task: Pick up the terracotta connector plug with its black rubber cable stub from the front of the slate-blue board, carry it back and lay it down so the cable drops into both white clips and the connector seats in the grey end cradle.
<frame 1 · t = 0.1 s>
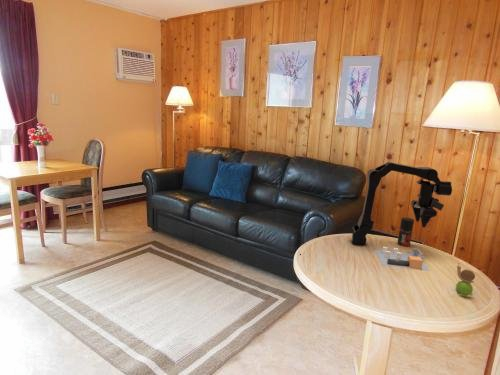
hand: (420, 224, 166), 15 cm above the table, tool pointing down, fingers open, 9 cm apart
end cradle: (409, 258, 159), resting on route board
snail figurine: (461, 294, 131), on the table
deodorant: (403, 246, 176), on the table
clips: (391, 255, 160), resting on route board
plug: (414, 266, 150), point 1 cm above the table, touching route board
route board: (400, 261, 157), on the table
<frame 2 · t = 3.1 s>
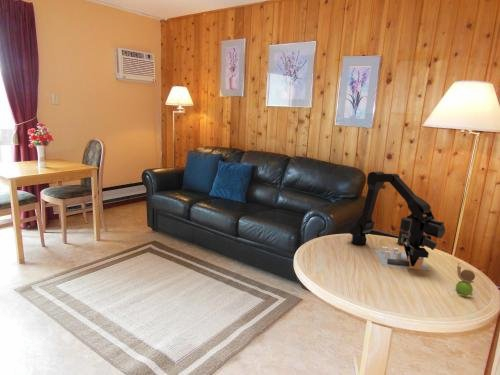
hand: (410, 263, 150), 2 cm above the table, tool pointing down, fingers closed on plug, 4 cm apart
plug: (414, 266, 150), point 1 cm above the table, touching gripper, route board
everything else where it was.
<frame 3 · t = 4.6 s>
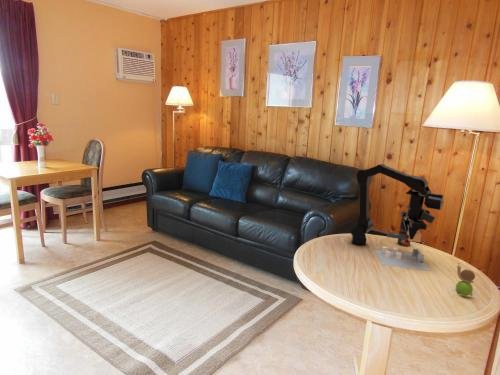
hand: (409, 237, 157), 11 cm above the table, tool pointing down, fingers closed on plug, 4 cm apart
plug: (413, 239, 157), point 10 cm above the table, touching gripper
everything else where it was.
when the fingers open (4 cm above the table, at t = 6.3 s): plug drops 2 cm, resting on route board.
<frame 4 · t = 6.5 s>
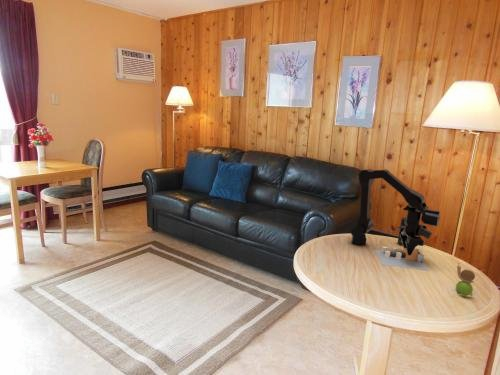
hand: (407, 252, 158), 4 cm above the table, tool pointing down, fingers open, 6 cm apart
plug: (410, 258, 159), point 1 cm above the table, touching route board
everything else where it was.
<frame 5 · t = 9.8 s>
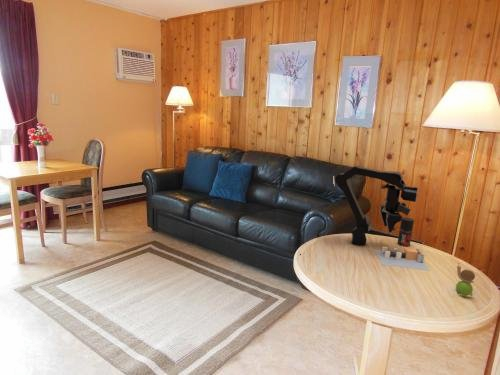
hand: (387, 229, 165), 12 cm above the table, tool pointing down, fingers open, 9 cm apart
nothing on the table moved.
at the end: plug 0.0 cm from the target spot, point 1.2 cm above the table; plug tilted 0°; the gripper is holding nothing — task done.
